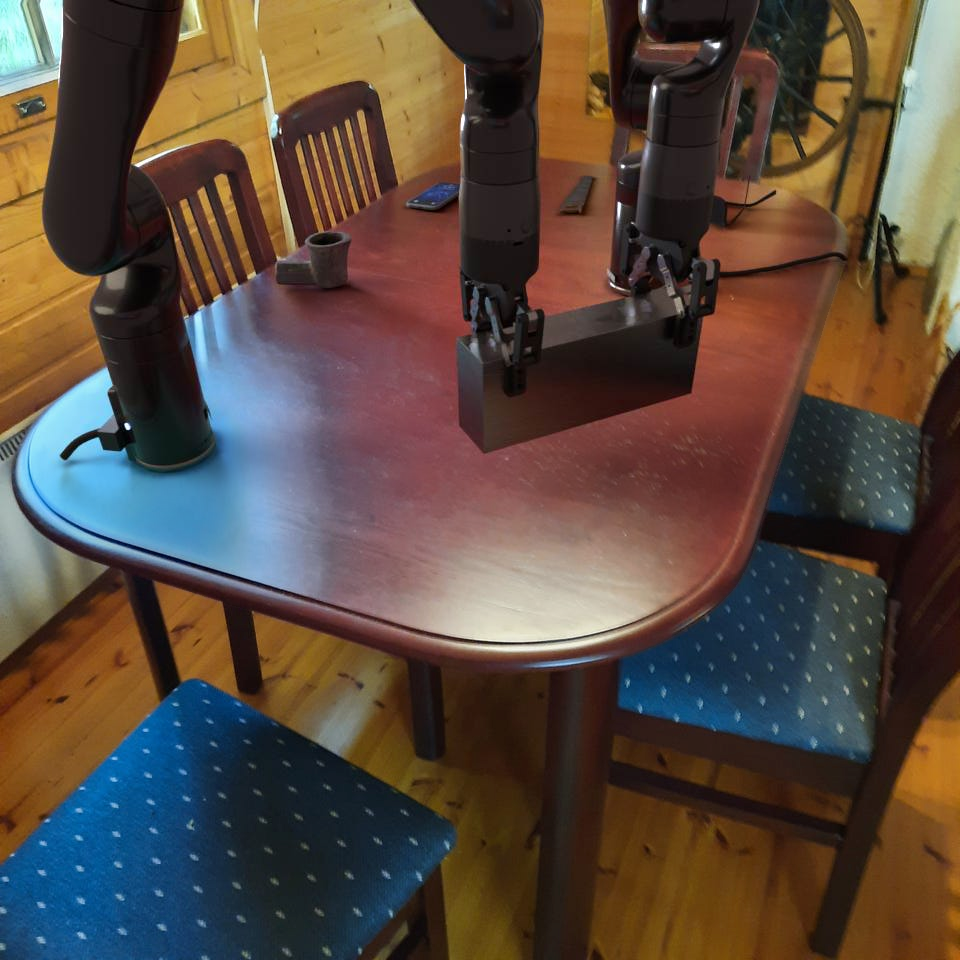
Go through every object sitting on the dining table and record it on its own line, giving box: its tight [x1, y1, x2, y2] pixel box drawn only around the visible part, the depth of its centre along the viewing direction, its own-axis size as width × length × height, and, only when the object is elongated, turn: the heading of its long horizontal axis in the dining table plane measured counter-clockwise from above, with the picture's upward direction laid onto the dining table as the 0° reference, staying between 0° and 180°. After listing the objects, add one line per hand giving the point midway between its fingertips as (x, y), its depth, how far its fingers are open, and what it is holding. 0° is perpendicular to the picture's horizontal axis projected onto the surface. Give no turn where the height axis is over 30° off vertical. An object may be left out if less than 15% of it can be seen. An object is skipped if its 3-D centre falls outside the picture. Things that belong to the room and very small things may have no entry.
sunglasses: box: [710, 175, 777, 228], centre depth 163 cm, size 17×14×5 cm
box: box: [455, 288, 704, 455], centre depth 94 cm, size 27×6×11 cm, turn 116°
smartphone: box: [406, 181, 460, 211], centre depth 174 cm, size 7×1×15 cm
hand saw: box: [558, 175, 594, 215], centre depth 174 cm, size 24×5×1 cm, turn 168°
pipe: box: [274, 230, 352, 289], centre depth 138 cm, size 6×13×8 cm, turn 95°
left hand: (499, 379), depth 89 cm, fingers closed on box, 6 cm apart
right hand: (659, 330), depth 96 cm, fingers open, 8 cm apart
